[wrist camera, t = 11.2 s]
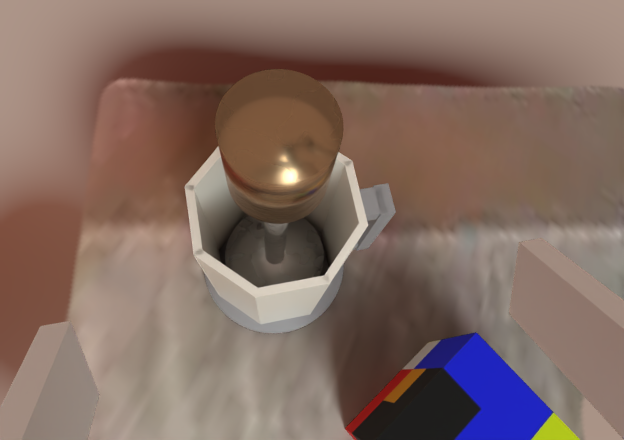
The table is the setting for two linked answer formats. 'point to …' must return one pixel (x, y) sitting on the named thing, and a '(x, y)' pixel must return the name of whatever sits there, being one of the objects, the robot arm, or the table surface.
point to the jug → (325, 218)
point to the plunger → (277, 171)
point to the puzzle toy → (458, 399)
